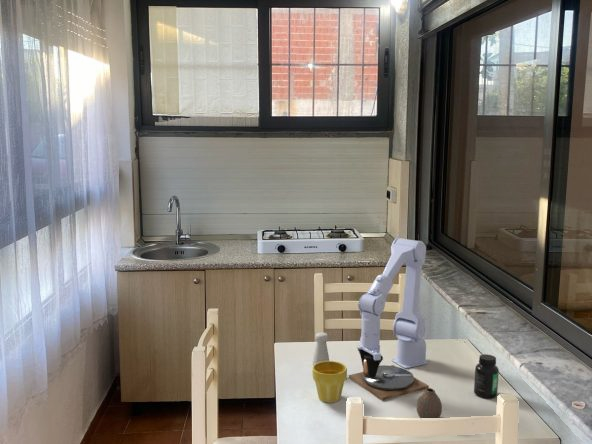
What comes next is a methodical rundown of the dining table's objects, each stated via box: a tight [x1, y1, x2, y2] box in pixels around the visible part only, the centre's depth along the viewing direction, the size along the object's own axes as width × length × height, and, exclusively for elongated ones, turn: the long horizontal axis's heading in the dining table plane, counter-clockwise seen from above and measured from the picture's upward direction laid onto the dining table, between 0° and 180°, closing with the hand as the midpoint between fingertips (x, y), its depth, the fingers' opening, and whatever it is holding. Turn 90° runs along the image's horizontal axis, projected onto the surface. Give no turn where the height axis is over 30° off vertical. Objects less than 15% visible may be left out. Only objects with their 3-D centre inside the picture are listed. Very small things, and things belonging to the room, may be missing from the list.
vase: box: [416, 387, 443, 419], centre depth 167 cm, size 7×7×9 cm
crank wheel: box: [362, 358, 414, 390], centre depth 190 cm, size 16×16×7 cm
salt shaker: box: [312, 331, 330, 367], centre depth 198 cm, size 6×6×13 cm
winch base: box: [348, 364, 430, 402], centre depth 191 cm, size 18×18×1 cm
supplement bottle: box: [473, 354, 500, 400], centre depth 183 cm, size 7×7×12 cm
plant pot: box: [312, 360, 348, 404], centre depth 179 cm, size 10×10×10 cm
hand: (369, 373), depth 189 cm, fingers open, 5 cm apart
